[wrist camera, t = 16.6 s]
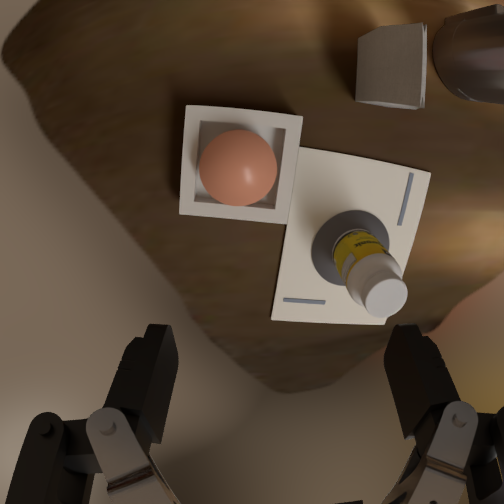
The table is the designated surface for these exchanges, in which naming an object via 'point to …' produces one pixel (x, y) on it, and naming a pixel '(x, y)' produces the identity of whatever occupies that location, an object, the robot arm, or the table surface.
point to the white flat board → (342, 230)
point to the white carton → (392, 66)
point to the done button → (238, 167)
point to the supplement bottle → (369, 273)
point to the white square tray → (260, 122)
